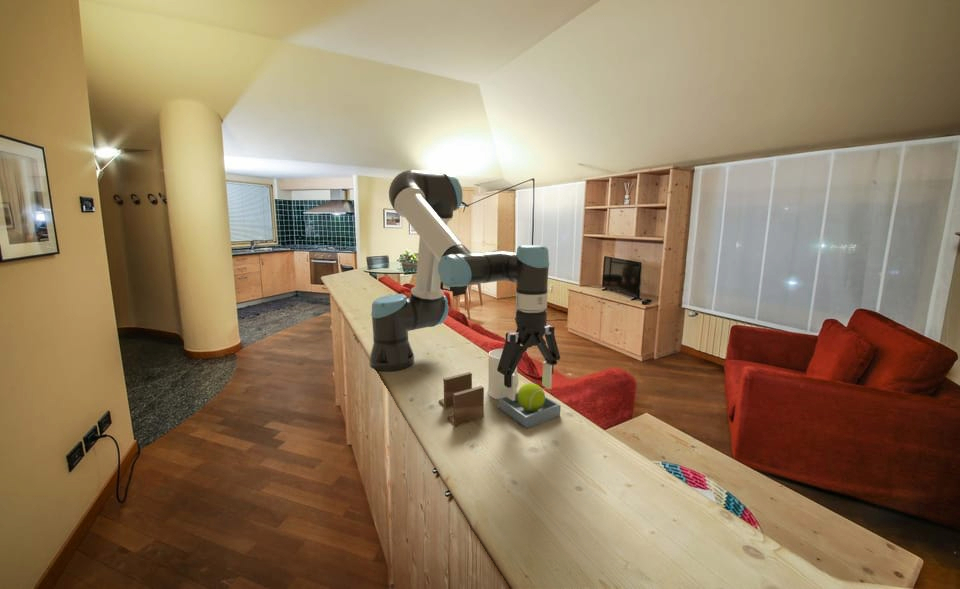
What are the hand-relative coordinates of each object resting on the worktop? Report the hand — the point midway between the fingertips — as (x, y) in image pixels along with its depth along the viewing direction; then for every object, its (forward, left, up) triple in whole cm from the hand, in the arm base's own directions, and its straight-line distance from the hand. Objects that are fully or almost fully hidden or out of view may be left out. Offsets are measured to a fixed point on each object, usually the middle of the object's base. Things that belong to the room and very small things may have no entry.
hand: (529, 392), depth 96 cm
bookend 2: (-7, -15, -6) cm, 17 cm away
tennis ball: (0, +1, -5) cm, 5 cm away
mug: (-11, 0, -6) cm, 12 cm away
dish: (0, 0, -6) cm, 6 cm away
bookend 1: (-15, -13, -6) cm, 21 cm away
